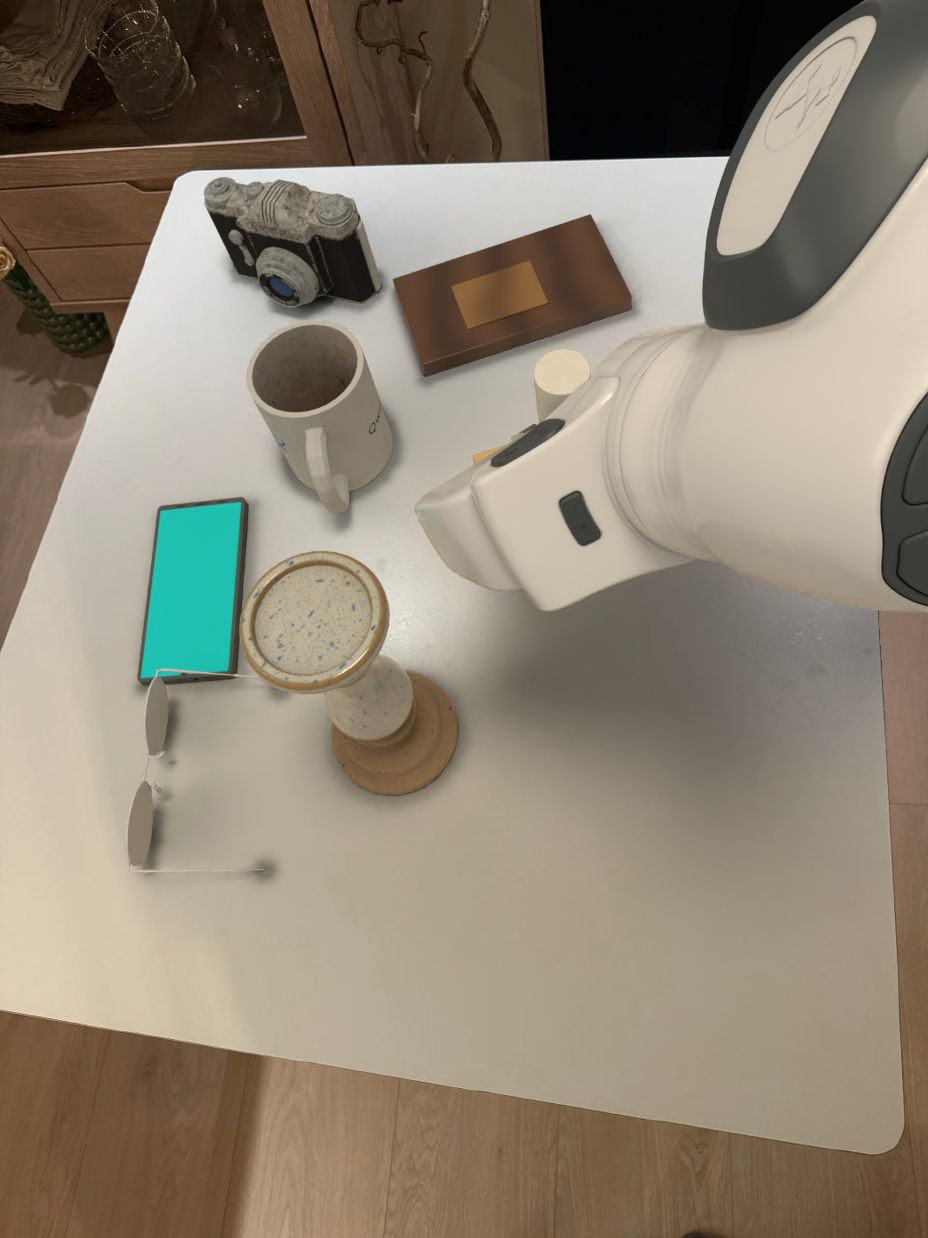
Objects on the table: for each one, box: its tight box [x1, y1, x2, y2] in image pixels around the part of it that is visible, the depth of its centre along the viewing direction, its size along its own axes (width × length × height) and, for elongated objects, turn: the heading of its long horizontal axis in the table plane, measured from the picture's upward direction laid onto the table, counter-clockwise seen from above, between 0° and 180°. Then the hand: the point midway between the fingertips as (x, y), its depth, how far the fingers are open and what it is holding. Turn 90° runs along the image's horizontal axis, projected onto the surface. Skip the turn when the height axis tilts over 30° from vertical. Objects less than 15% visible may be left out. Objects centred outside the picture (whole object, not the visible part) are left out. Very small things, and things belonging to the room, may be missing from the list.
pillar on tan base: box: [472, 348, 592, 465], centre depth 49 cm, size 10×5×12 cm, turn 106°
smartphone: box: [136, 496, 249, 686], centre depth 69 cm, size 7×1×15 cm
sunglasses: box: [125, 669, 280, 874], centre depth 61 cm, size 14×8×5 cm, turn 0°
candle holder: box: [239, 550, 459, 796], centre depth 53 cm, size 9×9×20 cm
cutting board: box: [392, 213, 633, 377], centre depth 76 cm, size 18×10×2 cm, turn 106°
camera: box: [203, 176, 382, 309], centre depth 76 cm, size 15×7×10 cm, turn 67°
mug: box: [245, 319, 394, 514], centre depth 68 cm, size 12×9×10 cm
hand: (558, 424), depth 49 cm, fingers closed on pillar on tan base, 3 cm apart
